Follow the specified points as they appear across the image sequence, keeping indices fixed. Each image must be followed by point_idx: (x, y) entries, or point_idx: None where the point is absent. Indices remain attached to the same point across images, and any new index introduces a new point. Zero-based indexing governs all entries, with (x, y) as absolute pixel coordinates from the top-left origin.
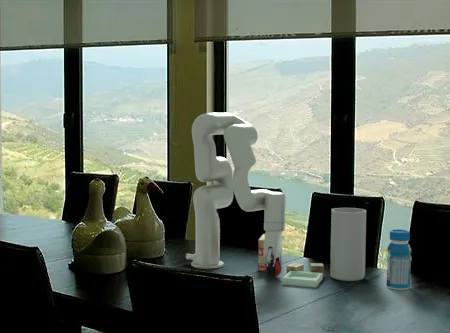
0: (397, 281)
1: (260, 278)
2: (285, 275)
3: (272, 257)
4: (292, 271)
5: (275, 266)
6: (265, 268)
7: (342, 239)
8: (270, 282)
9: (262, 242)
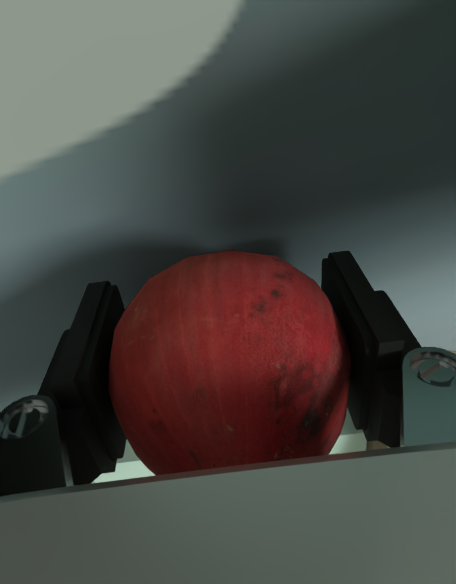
0: None
1: (155, 149)
2: (139, 462)
3: (405, 433)
4: (337, 453)
5: (108, 471)
6: (179, 273)
7: None
8: (50, 317)
9: None
